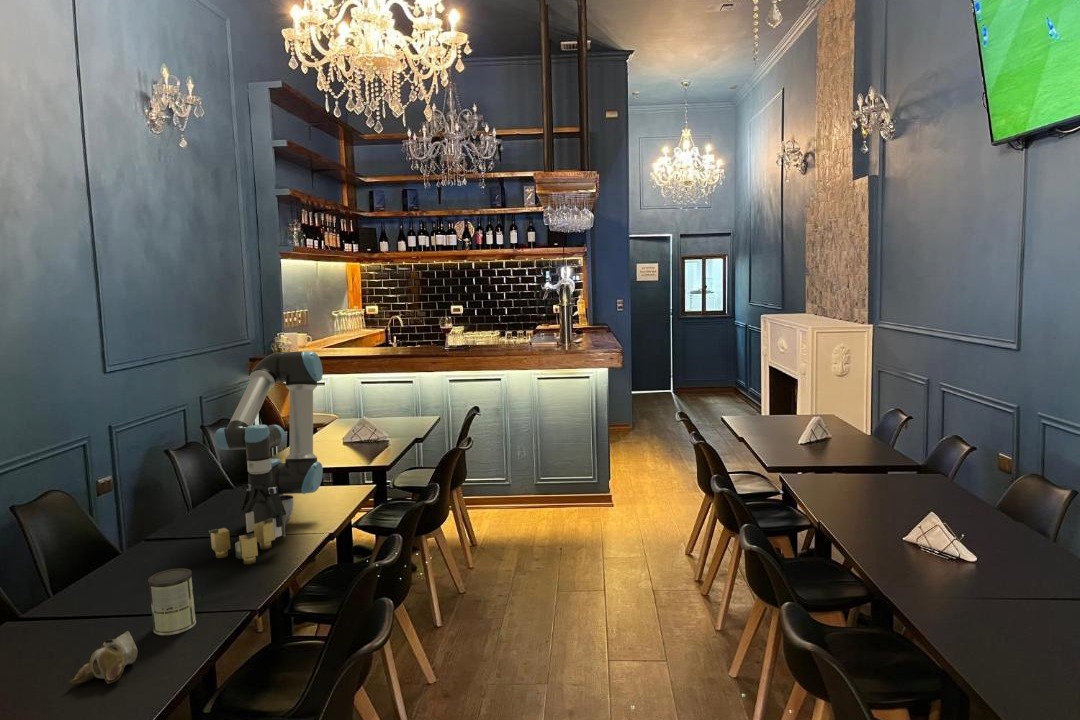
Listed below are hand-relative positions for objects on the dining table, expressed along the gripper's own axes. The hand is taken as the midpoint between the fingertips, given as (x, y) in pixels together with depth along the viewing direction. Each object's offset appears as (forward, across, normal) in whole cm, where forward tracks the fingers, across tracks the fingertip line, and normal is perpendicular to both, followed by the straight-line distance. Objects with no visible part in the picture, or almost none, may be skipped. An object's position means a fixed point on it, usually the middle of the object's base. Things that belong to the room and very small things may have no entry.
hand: (264, 533), depth 259 cm
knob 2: (+5, +7, -12) cm, 14 cm away
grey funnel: (+6, -4, +12) cm, 14 cm away
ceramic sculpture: (+8, +36, -73) cm, 82 cm away
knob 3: (+5, 0, 0) cm, 5 cm away
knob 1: (+5, -7, -12) cm, 14 cm away
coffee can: (+8, +26, -50) cm, 57 cm away
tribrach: (+6, 0, -8) cm, 10 cm away
